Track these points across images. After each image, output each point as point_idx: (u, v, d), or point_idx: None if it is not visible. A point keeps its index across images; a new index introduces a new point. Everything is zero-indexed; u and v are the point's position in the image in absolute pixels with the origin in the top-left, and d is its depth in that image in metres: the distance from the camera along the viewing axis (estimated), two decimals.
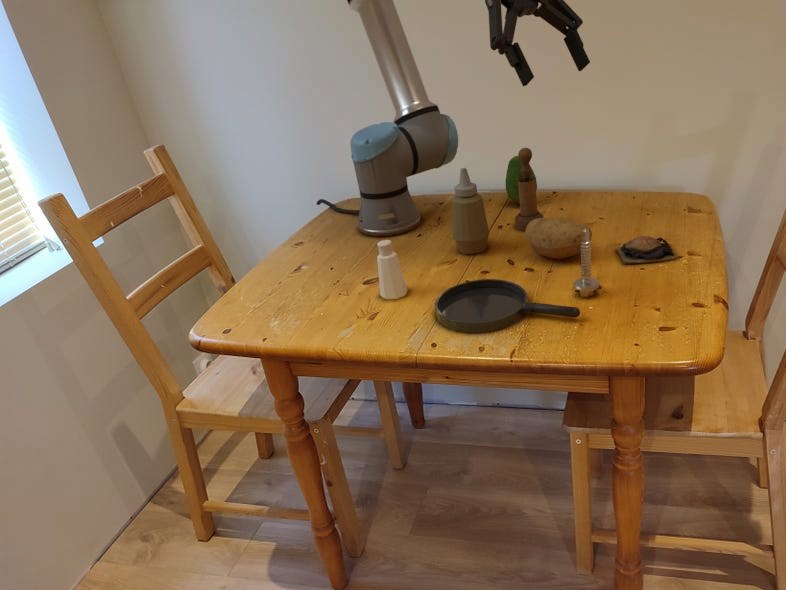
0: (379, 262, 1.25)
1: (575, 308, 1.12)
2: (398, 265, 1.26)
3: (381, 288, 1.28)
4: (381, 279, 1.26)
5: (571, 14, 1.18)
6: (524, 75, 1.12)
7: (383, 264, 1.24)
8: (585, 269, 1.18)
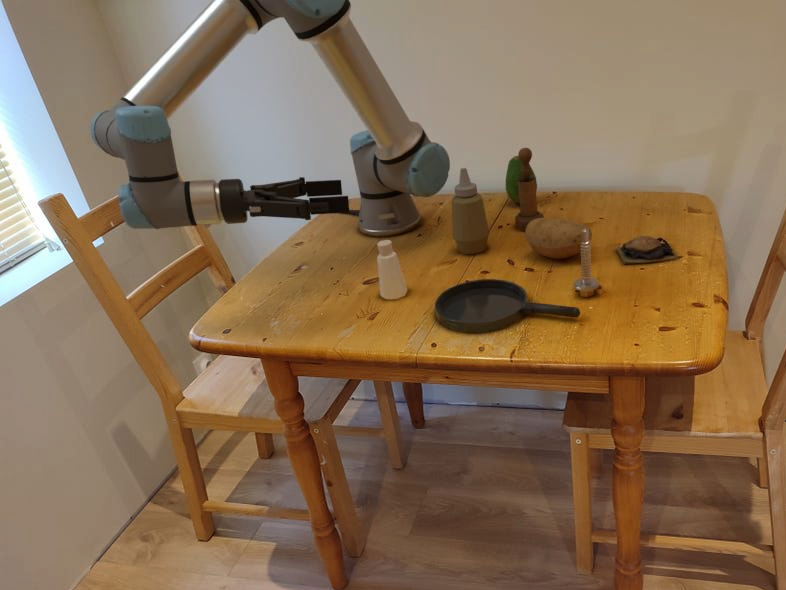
0: (379, 262, 1.25)
1: (575, 308, 1.12)
2: (398, 265, 1.26)
3: (381, 288, 1.28)
4: (381, 279, 1.26)
5: None
6: None
7: (383, 264, 1.24)
8: (585, 269, 1.18)
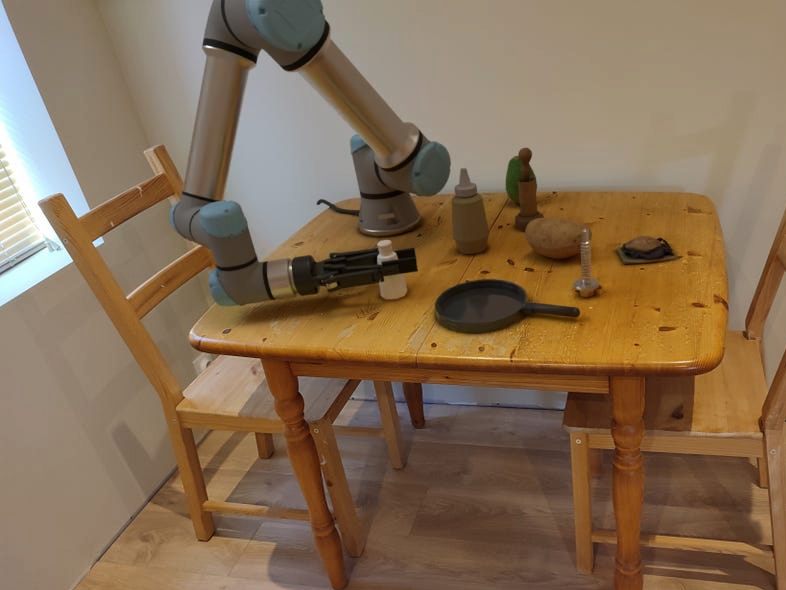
0: (379, 262, 1.25)
1: (575, 308, 1.12)
2: None
3: (381, 288, 1.28)
4: None
5: None
6: None
7: None
8: (585, 269, 1.18)
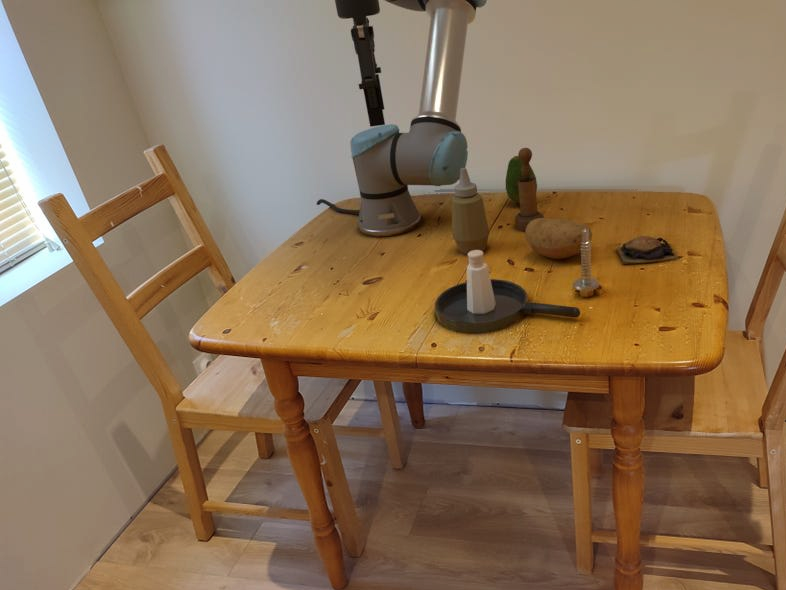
0: (469, 274, 1.15)
1: (575, 308, 1.12)
2: (488, 277, 1.17)
3: (469, 302, 1.18)
4: (470, 293, 1.17)
5: None
6: None
7: (474, 276, 1.15)
8: (585, 269, 1.18)
